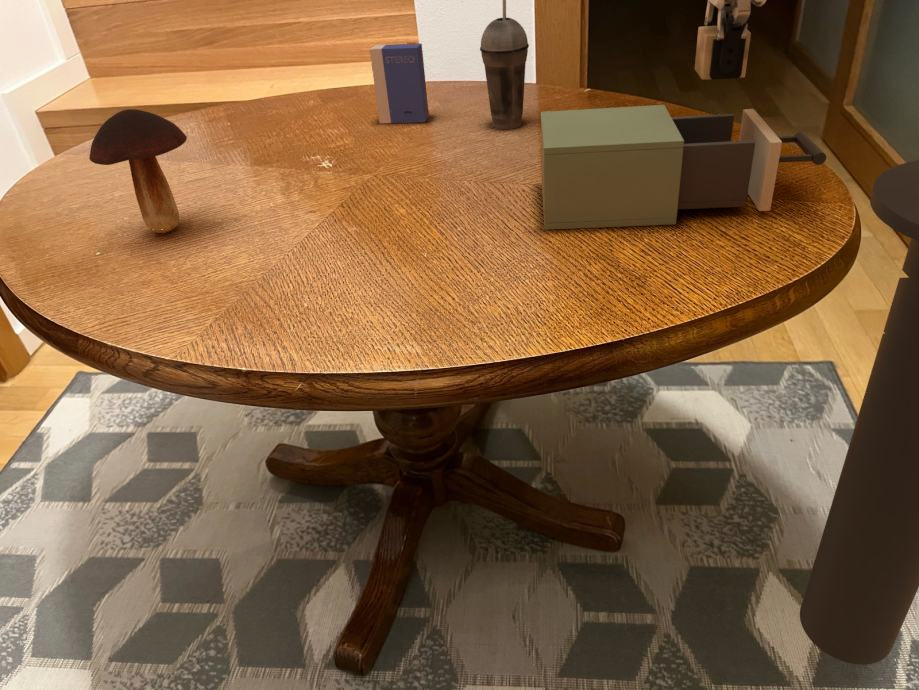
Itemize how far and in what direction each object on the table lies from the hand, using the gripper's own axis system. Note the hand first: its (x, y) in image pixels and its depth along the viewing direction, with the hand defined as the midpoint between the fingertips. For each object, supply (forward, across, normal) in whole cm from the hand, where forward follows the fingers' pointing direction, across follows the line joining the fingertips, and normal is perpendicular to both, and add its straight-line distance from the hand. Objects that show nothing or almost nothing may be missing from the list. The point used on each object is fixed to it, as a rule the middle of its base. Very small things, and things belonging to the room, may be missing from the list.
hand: (720, 69), depth 80 cm
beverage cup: (+14, +29, +25) cm, 41 cm away
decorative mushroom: (+14, -6, +66) cm, 68 cm away
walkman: (+14, +34, +42) cm, 56 cm away
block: (0, 0, 0) cm, 0 cm away
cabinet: (+14, -3, +12) cm, 19 cm away
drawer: (+13, -2, -1) cm, 14 cm away
